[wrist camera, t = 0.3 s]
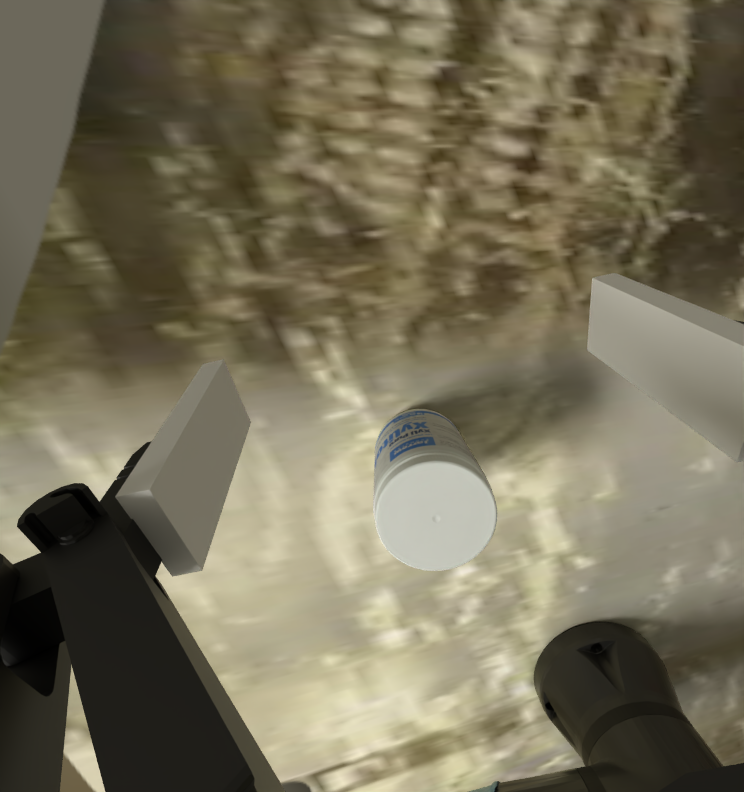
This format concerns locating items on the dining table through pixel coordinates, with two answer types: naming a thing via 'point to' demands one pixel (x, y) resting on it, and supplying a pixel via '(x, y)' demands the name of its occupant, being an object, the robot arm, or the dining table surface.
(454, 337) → the dining table surface
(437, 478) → the supplement tub
